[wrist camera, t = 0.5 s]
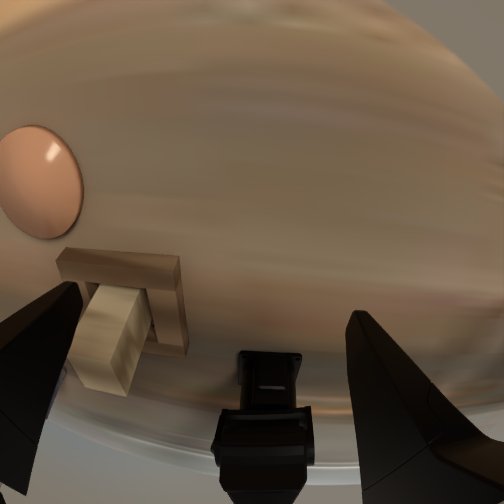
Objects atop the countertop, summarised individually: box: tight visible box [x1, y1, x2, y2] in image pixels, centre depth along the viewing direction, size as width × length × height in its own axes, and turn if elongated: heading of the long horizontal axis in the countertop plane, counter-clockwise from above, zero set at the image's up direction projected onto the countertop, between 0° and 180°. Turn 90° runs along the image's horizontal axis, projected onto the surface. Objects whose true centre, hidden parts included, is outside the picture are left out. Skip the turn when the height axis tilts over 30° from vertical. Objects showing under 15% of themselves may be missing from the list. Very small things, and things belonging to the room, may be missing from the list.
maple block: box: [67, 284, 152, 397], centre depth 25 cm, size 5×4×9 cm
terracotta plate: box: [0, 125, 84, 239], centre depth 21 cm, size 10×10×1 cm
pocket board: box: [56, 247, 189, 358], centre depth 27 cm, size 11×11×2 cm
